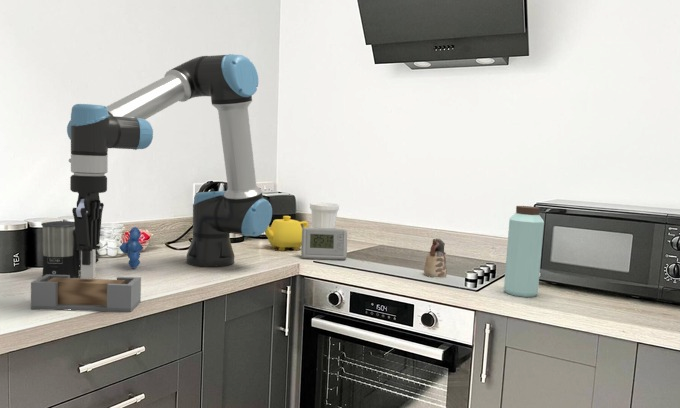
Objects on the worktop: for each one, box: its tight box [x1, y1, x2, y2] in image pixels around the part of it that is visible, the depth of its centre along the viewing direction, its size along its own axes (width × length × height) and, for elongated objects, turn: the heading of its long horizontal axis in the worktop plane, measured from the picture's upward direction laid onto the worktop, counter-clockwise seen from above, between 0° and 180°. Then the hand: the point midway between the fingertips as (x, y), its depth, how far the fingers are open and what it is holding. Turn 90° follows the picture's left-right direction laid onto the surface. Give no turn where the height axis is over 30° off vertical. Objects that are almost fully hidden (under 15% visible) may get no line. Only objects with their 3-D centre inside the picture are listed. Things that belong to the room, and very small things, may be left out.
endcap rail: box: [30, 274, 142, 313], centre depth 129 cm, size 21×8×6 cm, turn 95°
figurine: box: [423, 238, 448, 278], centre depth 181 cm, size 7×7×12 cm
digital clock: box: [300, 227, 348, 261], centre depth 199 cm, size 16×9×11 cm, turn 84°
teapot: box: [264, 215, 309, 252], centre depth 214 cm, size 13×20×12 cm
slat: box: [46, 277, 125, 306], centre depth 129 cm, size 16×4×5 cm, turn 93°
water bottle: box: [503, 205, 545, 298], centre depth 162 cm, size 10×10×25 cm
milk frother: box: [40, 220, 100, 278], centre depth 158 cm, size 14×16×15 cm
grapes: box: [119, 226, 144, 269], centre depth 170 cm, size 12×7×12 cm, turn 19°
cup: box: [309, 202, 340, 228], centre depth 238 cm, size 12×12×15 cm
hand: (88, 278), depth 129 cm, fingers closed
